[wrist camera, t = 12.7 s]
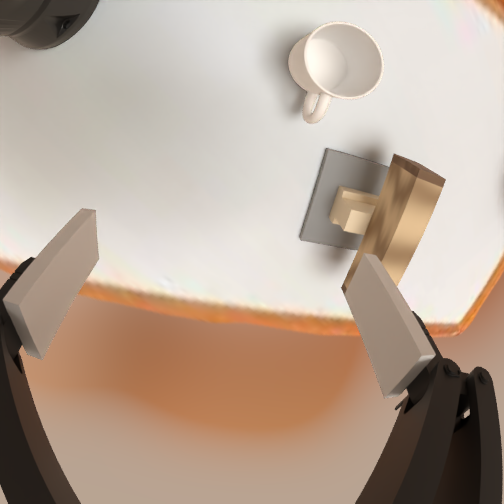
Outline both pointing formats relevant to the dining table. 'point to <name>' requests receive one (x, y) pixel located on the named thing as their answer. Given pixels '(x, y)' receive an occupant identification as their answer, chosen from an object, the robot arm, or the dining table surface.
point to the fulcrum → (343, 200)
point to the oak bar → (399, 217)
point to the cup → (335, 66)
